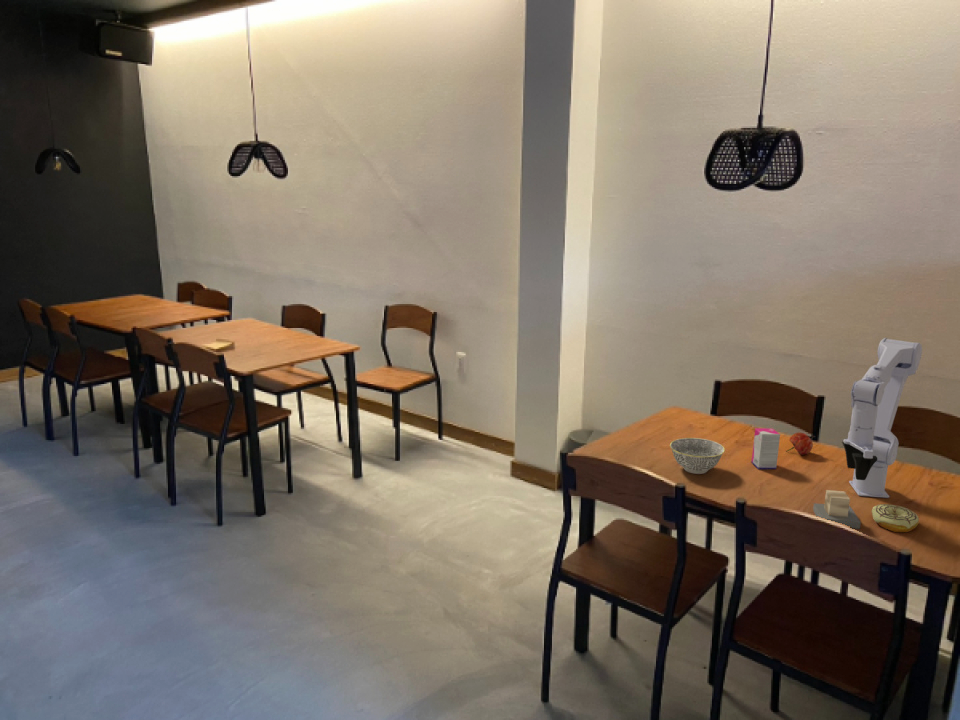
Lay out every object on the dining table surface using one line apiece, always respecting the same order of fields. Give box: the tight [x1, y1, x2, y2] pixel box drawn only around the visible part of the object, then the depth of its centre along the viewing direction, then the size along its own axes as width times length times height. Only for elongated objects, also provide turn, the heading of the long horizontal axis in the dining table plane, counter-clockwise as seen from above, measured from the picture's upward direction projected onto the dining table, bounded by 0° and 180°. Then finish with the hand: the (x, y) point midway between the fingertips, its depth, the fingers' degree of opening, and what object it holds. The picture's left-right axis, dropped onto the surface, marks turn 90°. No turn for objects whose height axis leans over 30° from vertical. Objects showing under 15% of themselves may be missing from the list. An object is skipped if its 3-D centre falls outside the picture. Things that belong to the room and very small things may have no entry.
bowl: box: [669, 437, 726, 475], centre depth 217 cm, size 16×16×8 cm
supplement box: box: [750, 427, 781, 470], centre depth 219 cm, size 6×6×12 cm
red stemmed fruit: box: [785, 431, 816, 456], centre depth 229 cm, size 7×7×10 cm
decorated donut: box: [871, 503, 920, 533], centre depth 183 cm, size 10×11×4 cm
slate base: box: [812, 502, 862, 530], centre depth 185 cm, size 9×9×2 cm
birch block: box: [823, 489, 851, 517], centre depth 184 cm, size 4×4×5 cm
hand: (856, 473), depth 189 cm, fingers open, 7 cm apart
